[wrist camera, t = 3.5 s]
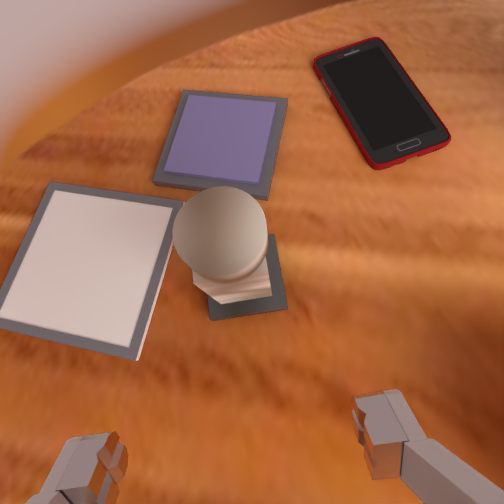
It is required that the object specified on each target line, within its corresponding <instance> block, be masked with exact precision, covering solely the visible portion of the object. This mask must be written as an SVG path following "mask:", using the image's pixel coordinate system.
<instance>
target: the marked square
mask: <svg viewBox="0 0 504 504" xmlns="http://www.w3.org/2000/svg"><path fill="white" fill-rule="evenodd" d="M184 204H185V202H184V201H181V200H174V199H167V198H160V197H154V196H147V195H140V194H133V193H126V192H119V191H112V190H105V189H98V188H91V187H84V186H77V185H70V184H64V183H57V182H50V183H49V185H48V187H47V189H46V192H45V194H44V196H43V198H42V200H41V202H40V205H39V207H38V209H37V211H36V213H35V215H34V218H33V220H32V222H31V224H30V226H29V228H28V231H27V233H26V235H25V237H24V239H23V241H22V243H21V246H20V248H19V250H18V252H17V254H16V256H15V259H14V261H13V263H12V265H11V267H10V269H9V272H8V274H7V276H6V278H5V280H4V282H3V285H2V287H1V289H0V329H4V330H8V331H12V332H16V333H21V334H25V335H29V336H33V337H37V338H42V339H46V340H50V341H54V342H58V343H62V344H67V345H71V346H75V347H79V348H83V349H88V350H92V351H96V352H100V353H104V354H108V355H113V356H117V357H121V358H125V359H129V360H134V361H139V358H140V354H141V351H142V348H143V344H144V341H145V338H146V334H147V331H148V328H149V324H150V321H151V318H152V314H153V311H154V308H155V304H156V301H157V298H158V294H159V291H160V288H161V284H162V281H163V278H164V274H165V271H166V268H167V264H168V261H169V258H170V254H171V251H172V248H173V244H174V243H173V224H174V221H175V218H176V216H177V214H178V212H179V210H180V209H181V207H182V206H183V205H184Z"/></svg>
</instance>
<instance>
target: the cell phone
mask: <svg viewBox="0 0 504 504" xmlns="http://www.w3.org/2000/svg"><path fill="white" fill-rule="evenodd" d="M313 68H314V70H315V72H316V74H317V76H318V78H319V80H320V79H321V81H322V82H323V84H324V86H325V88H326V89H327V91H328V93H329V95H330V99H331V100H332V102H333V104H334V106H335V107H336V109H337V111H338V113H339V114H340V116H341V118H342V120H343V121H344V123H345V125H346V127H347V128H348V130H349V132H350V133H351V135H352V137H353V139H354V140H355V142H356V144H357V146H358V147H359V149H360V151H361V152H362V154H363V156H364V158H365V159H366V161H367V163H368V164H369V165H370V166H371V168H373V169H374V170H382V169H386V168H389V167H391V166H393V165H396V164H400V163H403V162H405V161H406V160H407V159H409V158H412V157H415V156H418V157H420V156H422V155H425V154H428V153H431V152H434V151H433V150H435V149H437V150H439V149H442V148H443V147H445V146H447V145H448V143H449V142H450V141H451V135H450V133H449V131H448V129H447V128H446V126H445V125H444V124H443V122H442V121H441V119H440V118H439V117H438V115H437V114H436V112H435V111H434V110H433V108H432V107H431V106H430V104H429V103H428V101H427V100H426V99H425V97H424V96H423V94H422V93H421V92H420V90H419V89H418V88H417V86H416V85H415V83H414V82H413V81H412V79H411V78H410V76H409V75H408V74H407V72H406V71H405V70H404V68H403V67H402V65H401V64H400V63H399V61H398V60H397V58H396V57H395V56H394V54H393V53H392V52H391V50H390V49H389V47H388V46H387V45H386V43H385V42H384V41H383V40H382V39H381V38H379V37H372V38H368V39H365V40H362V41H359V42H356V43H354V44H351V45H348V46H345V47H342V48H339V49H336V50H333V51H331V52H328V53H325V54H322V55H320V56H318V57H316V58H315V59H314V64H313ZM438 148H439V149H438ZM435 151H436V150H435Z"/></svg>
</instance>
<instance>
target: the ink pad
mask: <svg viewBox="0 0 504 504" xmlns="http://www.w3.org/2000/svg"><path fill="white" fill-rule="evenodd" d="M287 106H288V98H276V97H264V96H252V95H240V94H227V93H215V92H203V91H191V90H183V93H182V96H181V99H180V102H179V105H178V108H177V110H176V113H175V116H174V119H173V122H172V125H171V128H170V131H169V134H168V136H167V139H166V142H165V145H164V148H163V151H162V154H161V157H160V160H159V162H158V165H157V168H156V171H155V174H154V177H153V180H152V181H153V182H154V184H155V185H158V186H166V187H173V188H180V189H187V190H195V191H203V190H205V189H208V188H212V187H219V186H227V187H233V188H237V189H240V190H243V191H244V192H246V193H248V194H249V195H251V196H252V197H253V198H254V199H260V200H267V201H268V197H269V192H270V187H271V182H272V178H273V173H274V168H275V163H276V158H277V154H278V149H279V144H280V139H281V135H282V130H283V125H284V120H285V115H286V111H287Z"/></svg>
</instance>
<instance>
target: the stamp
mask: <svg viewBox="0 0 504 504" xmlns="http://www.w3.org/2000/svg"><path fill="white" fill-rule="evenodd" d="M173 243H174V246H175V249H176V251H177V253H178V255H179V256H180V258H181V259H182V260H183V261H184V262H185V263H186V264H187V265H188V266H189V267H190V268H191V269H192V272H193V284H194V285H196V286H197V287H199V288H200V289H201V290H203V291H204V292H205V293H207V298H208V308H209V318H210V320H213V321H217V320H224V319H230V318H236V317H242V316H249V315H255V314H261V313H267V312H273V311H280V310H286V309H287V308H288V306H287V301H286V295H285V290H284V284H283V279H282V274H281V268H280V263H279V257H278V252H277V246H276V241H275V236H274V234H270V235H268V234H267V226H266V219H265V215H264V212H263V210H262V208H261V206H260V205H259V203H258V202H257V201H256V200H255V199H254V198H253V197H252V196H251V195H249V194H248V193H246V192H244V191H243V190H240V189H237V188H233V187H227V186H219V187H212V188H208V189H205V190H203V191H201V192H199V193H197V194H195V195H194V196H192V197H191V198H190V199H189V200H187V201H186V202H185V204H184V205H183V206H182V207H181V209H180V210H179V212H178V214H177V216H176V218H175V221H174V224H173Z"/></svg>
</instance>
